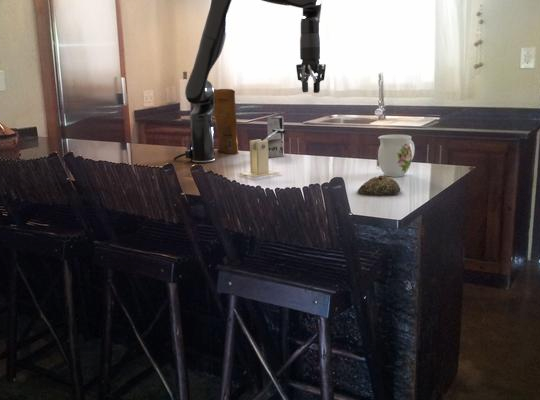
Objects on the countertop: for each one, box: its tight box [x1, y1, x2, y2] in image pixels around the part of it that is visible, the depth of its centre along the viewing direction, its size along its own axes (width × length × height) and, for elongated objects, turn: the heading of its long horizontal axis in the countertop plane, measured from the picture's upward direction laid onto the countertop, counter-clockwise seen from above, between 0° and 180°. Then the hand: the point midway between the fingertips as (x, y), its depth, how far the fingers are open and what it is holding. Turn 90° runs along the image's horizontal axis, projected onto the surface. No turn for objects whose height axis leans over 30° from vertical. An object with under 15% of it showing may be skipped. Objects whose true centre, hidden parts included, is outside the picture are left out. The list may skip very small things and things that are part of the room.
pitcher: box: [377, 134, 416, 178], centre depth 218 cm, size 11×18×14 cm, turn 124°
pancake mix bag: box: [213, 88, 239, 155], centre depth 281 cm, size 7×19×28 cm, turn 26°
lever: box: [253, 128, 286, 150], centre depth 229 cm, size 12×6×2 cm, turn 120°
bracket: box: [239, 139, 280, 178], centre depth 229 cm, size 11×9×13 cm
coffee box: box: [266, 115, 285, 158], centre depth 267 cm, size 9×6×16 cm
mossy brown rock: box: [357, 175, 402, 196], centre depth 197 cm, size 13×12×5 cm
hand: (310, 92), depth 238 cm, fingers open, 5 cm apart
